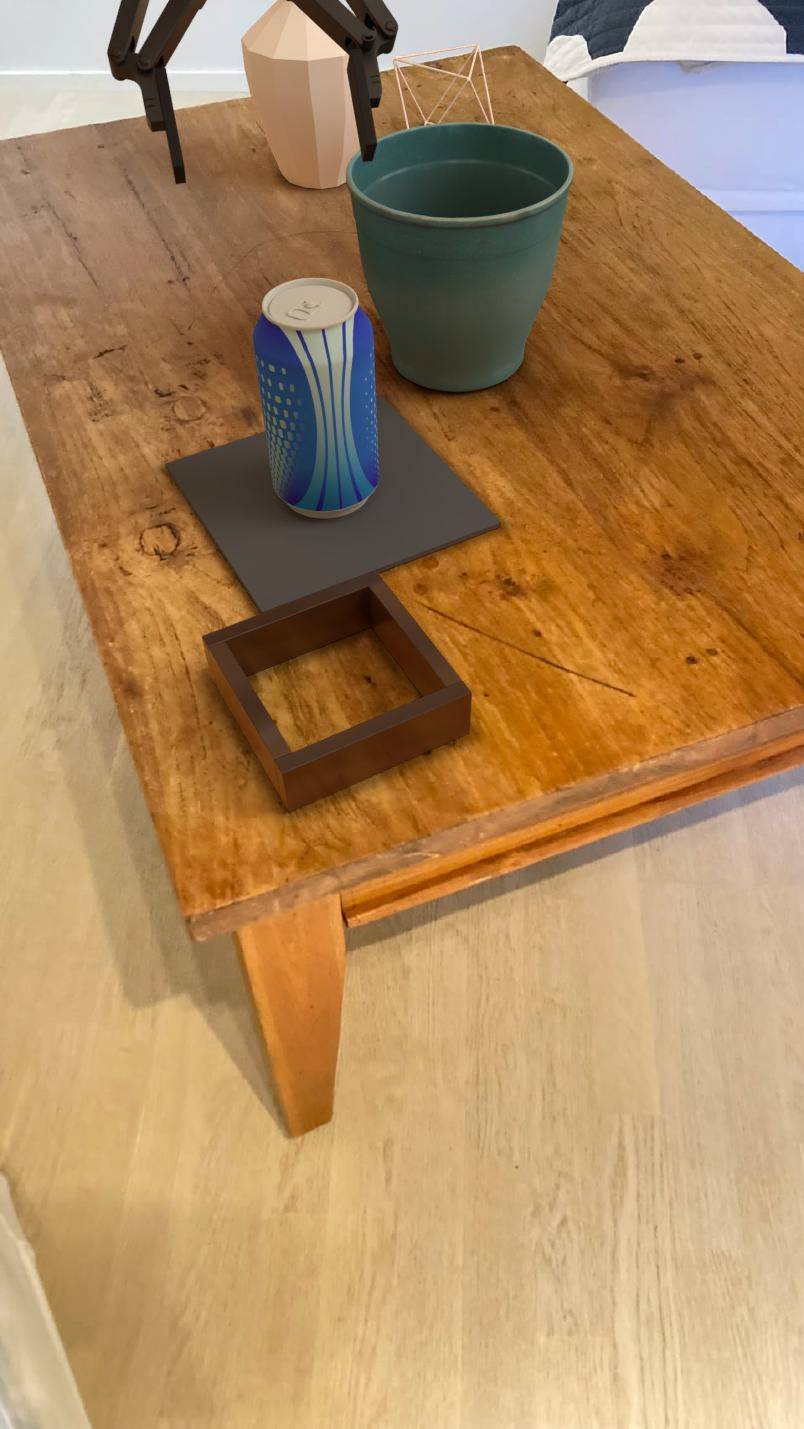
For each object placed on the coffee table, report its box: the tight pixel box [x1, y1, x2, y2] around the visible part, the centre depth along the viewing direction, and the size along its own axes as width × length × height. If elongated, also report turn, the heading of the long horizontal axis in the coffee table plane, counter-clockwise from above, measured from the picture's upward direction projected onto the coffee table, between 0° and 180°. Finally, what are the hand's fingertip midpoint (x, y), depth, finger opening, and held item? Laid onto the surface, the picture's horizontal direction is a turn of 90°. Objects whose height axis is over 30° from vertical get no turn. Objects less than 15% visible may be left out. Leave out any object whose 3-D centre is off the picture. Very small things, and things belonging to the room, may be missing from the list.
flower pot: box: [345, 121, 575, 393], centre depth 90 cm, size 18×18×17 cm
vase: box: [240, 0, 360, 190], centre depth 113 cm, size 14×14×25 cm
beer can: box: [252, 277, 379, 519], centre depth 78 cm, size 8×8×16 cm
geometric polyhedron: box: [392, 43, 495, 129], centre depth 124 cm, size 12×11×9 cm
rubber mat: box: [164, 393, 502, 614], centre depth 84 cm, size 20×20×1 cm
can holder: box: [201, 571, 473, 813], centre depth 69 cm, size 13×13×4 cm
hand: (276, 165), depth 75 cm, fingers open, 13 cm apart
